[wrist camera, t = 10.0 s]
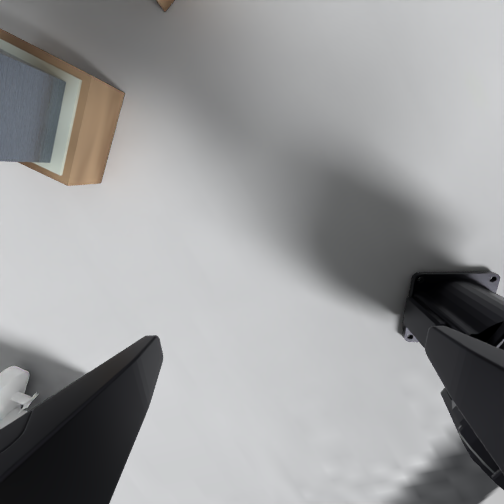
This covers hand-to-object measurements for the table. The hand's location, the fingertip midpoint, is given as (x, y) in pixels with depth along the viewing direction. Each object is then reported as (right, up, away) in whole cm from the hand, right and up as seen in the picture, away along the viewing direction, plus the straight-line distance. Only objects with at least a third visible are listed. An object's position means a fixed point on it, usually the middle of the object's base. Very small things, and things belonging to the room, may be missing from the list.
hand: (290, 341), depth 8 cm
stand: (-15, +13, +11) cm, 23 cm away
